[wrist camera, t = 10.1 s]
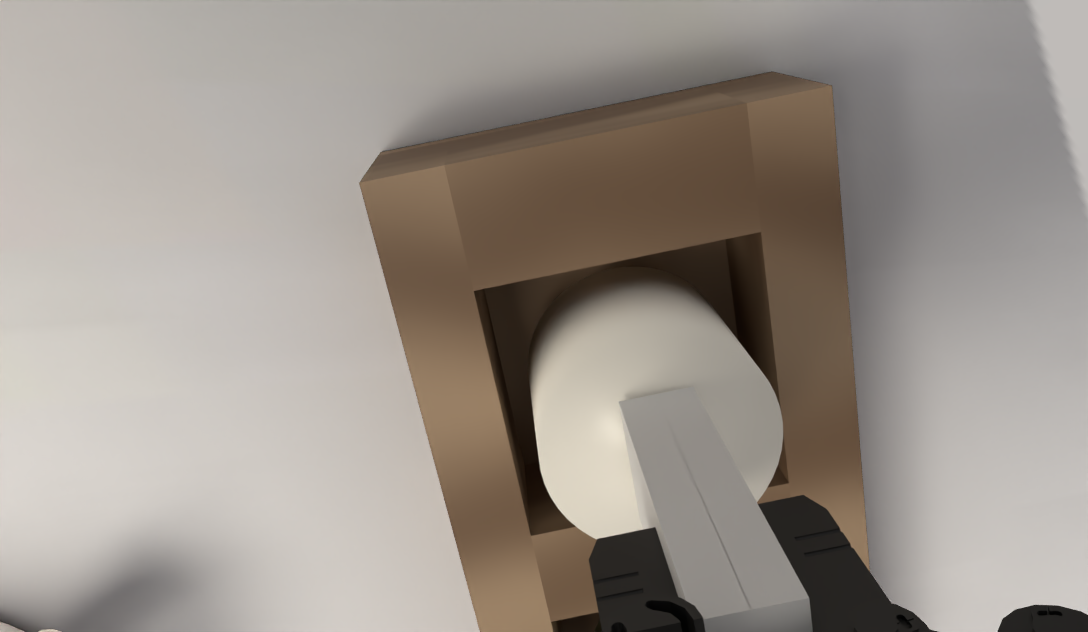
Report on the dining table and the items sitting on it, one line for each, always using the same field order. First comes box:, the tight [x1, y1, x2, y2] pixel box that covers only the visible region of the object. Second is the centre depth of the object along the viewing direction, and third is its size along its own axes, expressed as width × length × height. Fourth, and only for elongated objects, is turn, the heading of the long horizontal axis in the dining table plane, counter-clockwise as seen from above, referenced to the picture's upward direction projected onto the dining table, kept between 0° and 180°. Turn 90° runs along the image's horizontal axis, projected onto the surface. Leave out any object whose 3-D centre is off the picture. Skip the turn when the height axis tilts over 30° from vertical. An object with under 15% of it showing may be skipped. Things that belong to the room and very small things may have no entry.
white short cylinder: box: [528, 267, 783, 539], centre depth 20 cm, size 5×5×4 cm
